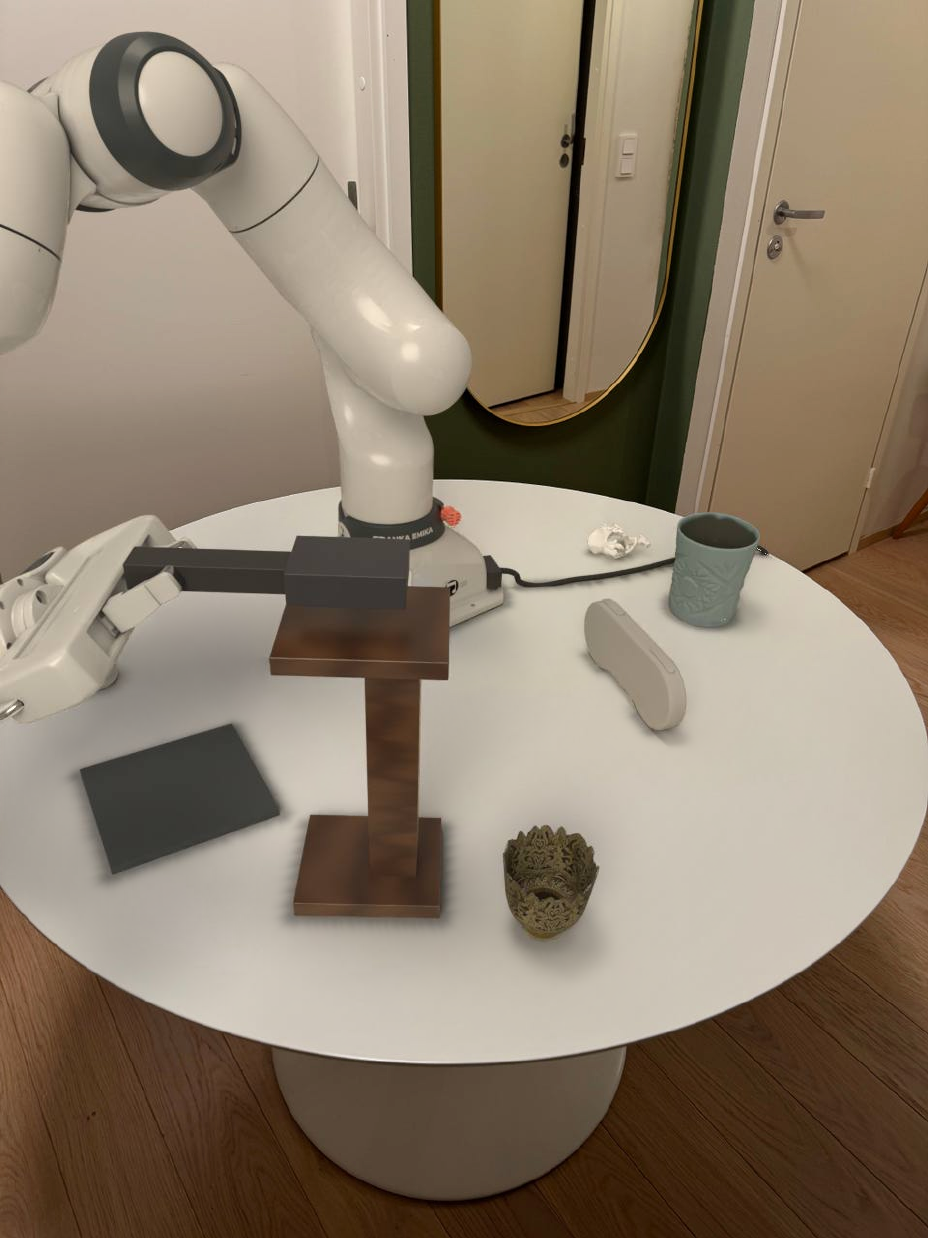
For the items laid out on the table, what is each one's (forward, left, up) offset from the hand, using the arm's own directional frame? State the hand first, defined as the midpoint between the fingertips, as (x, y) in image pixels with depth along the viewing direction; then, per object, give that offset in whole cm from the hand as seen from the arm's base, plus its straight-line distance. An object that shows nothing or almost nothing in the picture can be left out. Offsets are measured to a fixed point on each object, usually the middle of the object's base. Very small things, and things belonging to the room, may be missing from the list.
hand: (185, 563), depth 60 cm
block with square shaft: (-5, +3, -1) cm, 6 cm away
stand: (-11, +6, -30) cm, 33 cm away
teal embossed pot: (-67, -13, -30) cm, 75 cm away
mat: (+2, -11, -30) cm, 32 cm away
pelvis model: (-67, -31, -30) cm, 80 cm away
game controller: (-47, -4, -30) cm, 56 cm away
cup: (-20, +18, -30) cm, 41 cm away
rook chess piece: (+5, -33, -30) cm, 45 cm away
